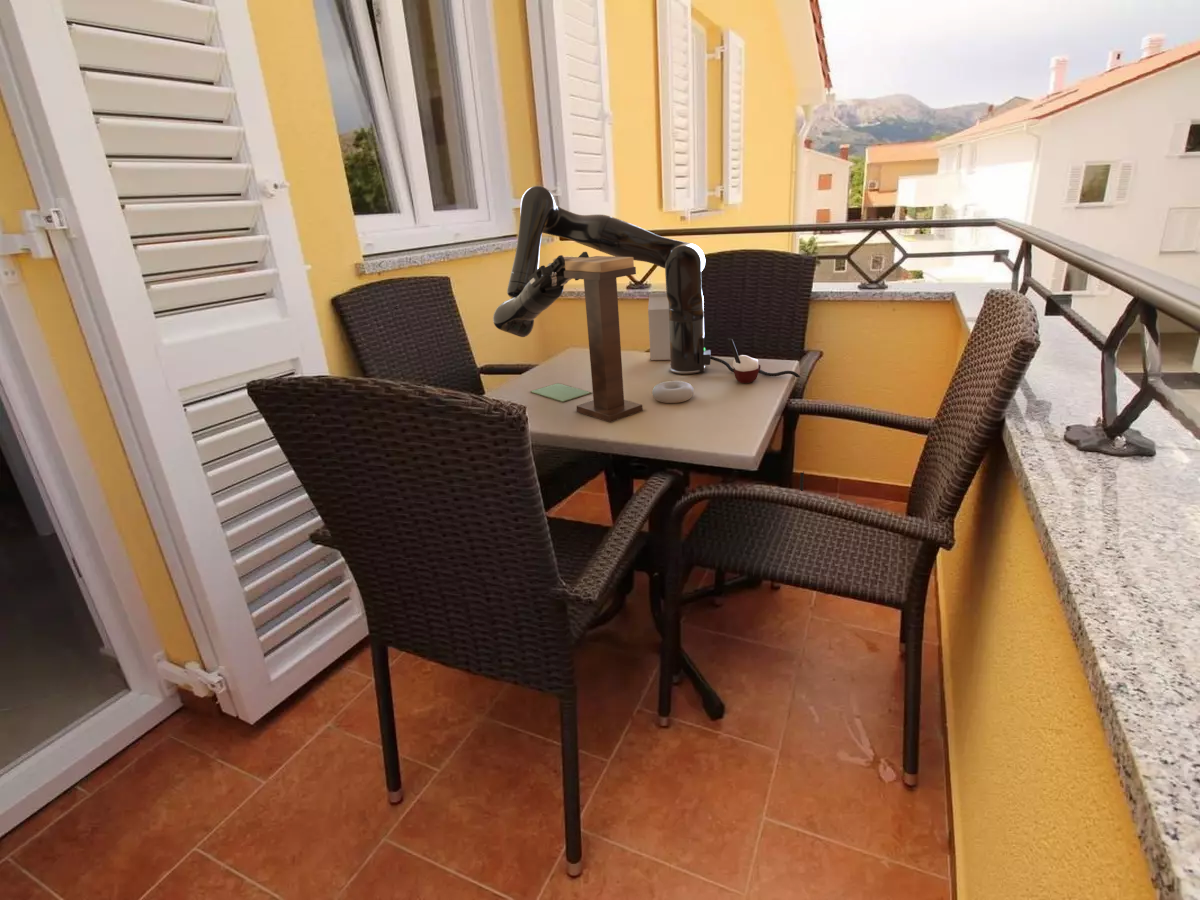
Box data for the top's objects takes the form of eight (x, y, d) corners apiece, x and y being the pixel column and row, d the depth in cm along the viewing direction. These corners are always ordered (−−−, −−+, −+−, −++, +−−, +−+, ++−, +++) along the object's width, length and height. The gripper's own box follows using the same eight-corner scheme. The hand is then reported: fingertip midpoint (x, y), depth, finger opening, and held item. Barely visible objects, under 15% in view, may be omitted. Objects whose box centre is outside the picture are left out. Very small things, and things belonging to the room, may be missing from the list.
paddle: (543, 269, 141) (542, 260, 140) (575, 264, 146) (574, 255, 145) (601, 272, 126) (600, 262, 125) (634, 267, 131) (633, 257, 130)
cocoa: (758, 376, 162) (759, 330, 157) (766, 383, 156) (768, 335, 152) (722, 380, 161) (722, 334, 157) (729, 387, 156) (729, 339, 151)
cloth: (530, 392, 164) (530, 391, 164) (558, 384, 169) (558, 383, 169) (562, 402, 154) (562, 401, 154) (591, 393, 159) (590, 392, 159)
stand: (576, 411, 146) (563, 270, 134) (608, 401, 152) (598, 265, 140) (610, 422, 138) (599, 273, 126) (643, 410, 144) (635, 266, 132)
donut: (689, 406, 145) (697, 392, 153) (689, 392, 143) (697, 379, 152) (647, 404, 148) (657, 391, 156) (646, 390, 146) (657, 378, 155)
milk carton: (674, 360, 184) (672, 294, 177) (650, 360, 185) (647, 295, 178) (676, 354, 190) (674, 290, 183) (653, 354, 192) (650, 291, 185)
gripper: (510, 282, 148) (542, 245, 134) (559, 273, 156) (593, 238, 142) (522, 311, 147) (555, 277, 134) (570, 301, 156) (606, 268, 142)
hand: (575, 257), depth 138 cm, fingers open, 6 cm apart
